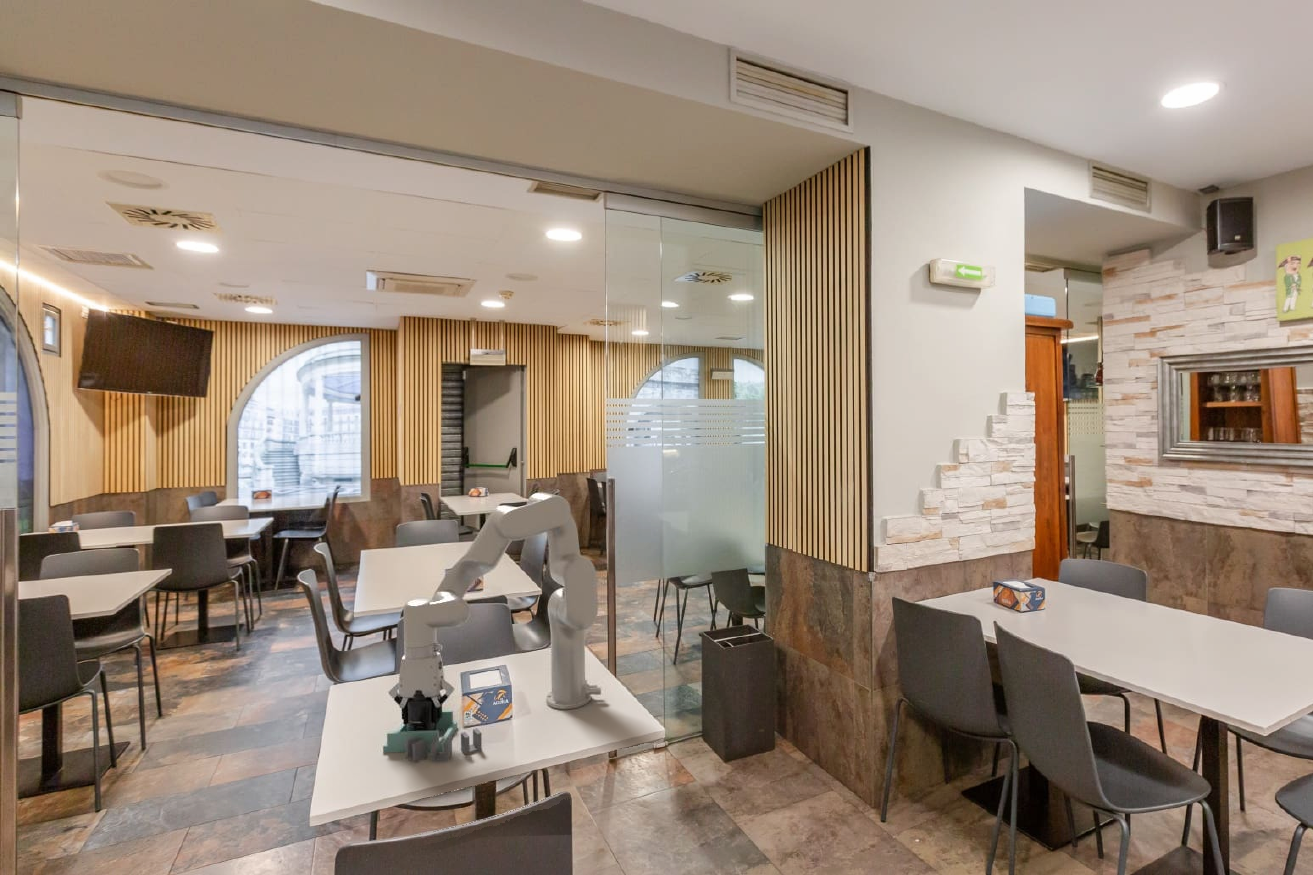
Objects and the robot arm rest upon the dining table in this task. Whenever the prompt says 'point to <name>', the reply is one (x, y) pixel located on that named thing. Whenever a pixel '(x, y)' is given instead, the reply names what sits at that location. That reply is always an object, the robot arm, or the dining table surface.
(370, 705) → the dining table surface
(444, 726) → the end holder
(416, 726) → the supplement bottle
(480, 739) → the clip
